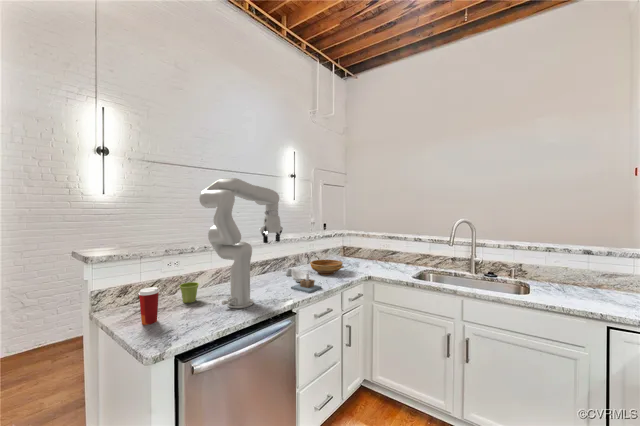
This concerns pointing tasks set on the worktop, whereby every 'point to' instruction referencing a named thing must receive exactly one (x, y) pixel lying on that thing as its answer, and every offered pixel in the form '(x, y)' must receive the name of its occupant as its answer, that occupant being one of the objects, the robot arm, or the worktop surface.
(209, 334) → the worktop surface
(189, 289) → the plant pot
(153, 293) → the paper cup
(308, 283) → the collar
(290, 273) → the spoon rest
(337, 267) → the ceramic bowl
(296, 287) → the post board
